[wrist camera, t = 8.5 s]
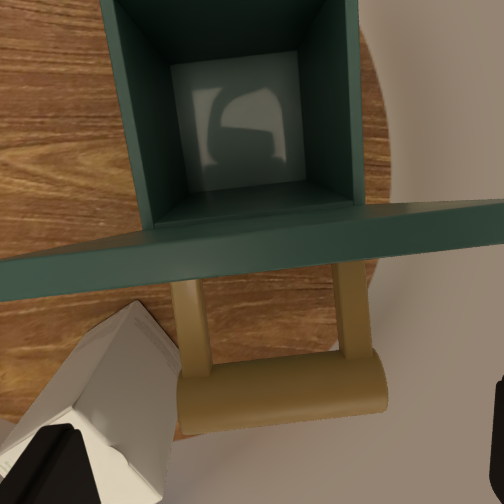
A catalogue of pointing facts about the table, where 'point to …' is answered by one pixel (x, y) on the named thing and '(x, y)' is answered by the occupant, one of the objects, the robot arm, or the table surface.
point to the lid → (259, 260)
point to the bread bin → (238, 106)
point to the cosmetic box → (113, 406)
